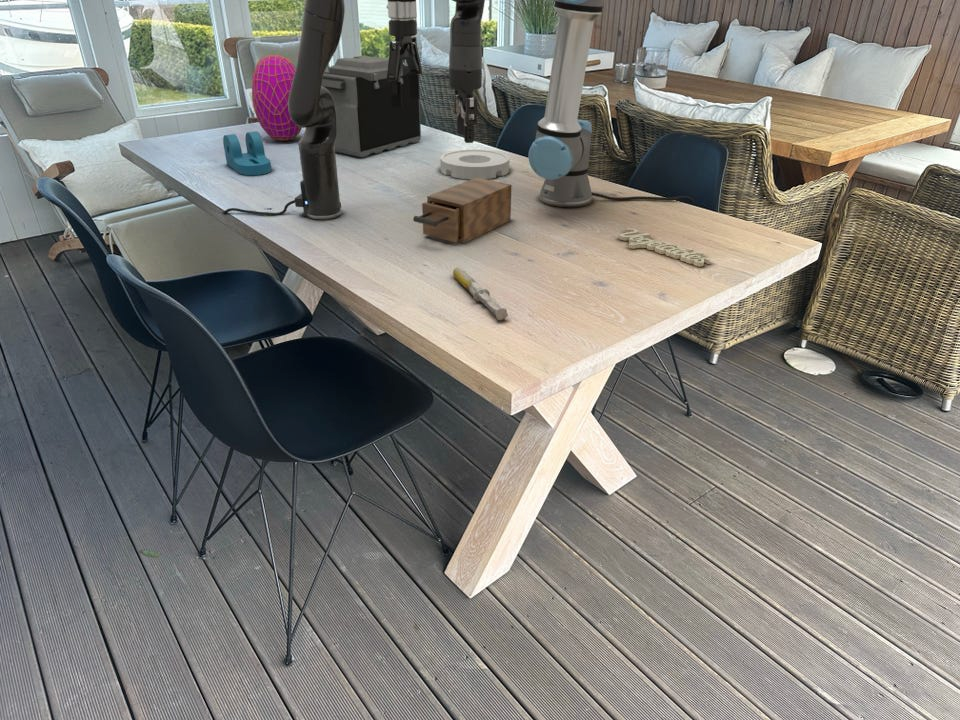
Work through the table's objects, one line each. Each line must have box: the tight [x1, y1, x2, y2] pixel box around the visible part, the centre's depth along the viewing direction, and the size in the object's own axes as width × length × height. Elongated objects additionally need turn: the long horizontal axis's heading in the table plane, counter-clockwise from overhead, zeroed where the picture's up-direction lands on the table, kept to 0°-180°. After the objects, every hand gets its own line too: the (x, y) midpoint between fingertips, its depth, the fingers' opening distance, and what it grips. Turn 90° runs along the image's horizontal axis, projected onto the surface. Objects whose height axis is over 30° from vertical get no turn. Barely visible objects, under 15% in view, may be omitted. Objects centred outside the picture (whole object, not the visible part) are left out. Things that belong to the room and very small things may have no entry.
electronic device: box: [321, 55, 422, 159], centre depth 250 cm, size 37×22×30 cm, turn 144°
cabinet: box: [426, 177, 513, 244], centre depth 180 cm, size 22×12×10 cm, turn 145°
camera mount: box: [222, 131, 272, 176], centre depth 226 cm, size 18×10×10 cm, turn 35°
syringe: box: [452, 266, 509, 321], centre depth 145 cm, size 25×4×3 cm, turn 21°
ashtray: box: [439, 148, 511, 180], centre depth 230 cm, size 23×23×4 cm
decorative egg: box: [251, 54, 303, 142], centre depth 257 cm, size 19×19×30 cm
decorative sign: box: [618, 227, 711, 267], centre depth 169 cm, size 26×1×10 cm
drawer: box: [412, 201, 461, 243], centre depth 175 cm, size 26×10×8 cm, turn 145°
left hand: (465, 138), depth 166 cm, fingers open, 8 cm apart
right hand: (406, 102), depth 195 cm, fingers open, 13 cm apart
